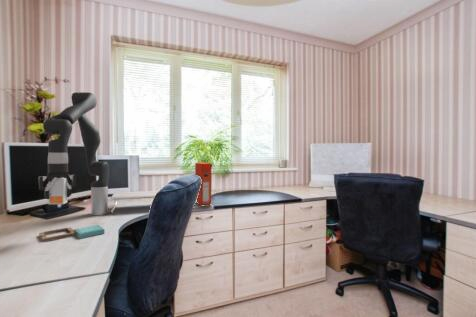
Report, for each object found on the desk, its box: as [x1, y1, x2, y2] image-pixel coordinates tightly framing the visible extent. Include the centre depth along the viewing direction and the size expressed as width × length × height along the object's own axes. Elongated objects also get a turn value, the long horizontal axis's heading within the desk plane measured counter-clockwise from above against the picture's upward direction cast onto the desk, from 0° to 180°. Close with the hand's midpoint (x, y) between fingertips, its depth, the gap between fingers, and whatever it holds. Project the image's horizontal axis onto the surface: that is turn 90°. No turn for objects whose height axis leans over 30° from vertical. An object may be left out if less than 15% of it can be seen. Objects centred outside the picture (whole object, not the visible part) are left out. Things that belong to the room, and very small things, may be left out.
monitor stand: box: [109, 190, 159, 215], centre depth 166 cm, size 37×28×11 cm
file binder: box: [194, 162, 212, 206], centre depth 182 cm, size 8×17×32 cm, turn 26°
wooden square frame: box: [38, 227, 77, 242], centre depth 108 cm, size 12×12×1 cm
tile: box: [73, 224, 105, 240], centre depth 111 cm, size 10×10×2 cm
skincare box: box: [48, 178, 69, 205], centre depth 107 cm, size 6×4×12 cm
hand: (58, 197), depth 107 cm, fingers closed on skincare box, 7 cm apart
